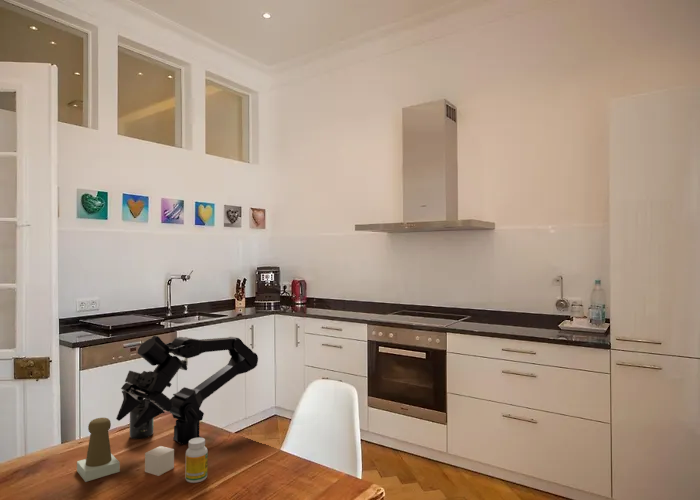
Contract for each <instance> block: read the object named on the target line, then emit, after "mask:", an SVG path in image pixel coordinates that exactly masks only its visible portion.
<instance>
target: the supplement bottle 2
mask: <svg viewBox="0 0 700 500" xmlns="http://www.w3.org/2000/svg"><path fill="white" fill-rule="evenodd" d="M205 445H206V438H204V437H202V438H193V439H191V440H189V443H188V446H187V447H188V448H187V449H186V450H185V468H184V470H185V474H184V477H185V481H186V482H187V483H191V484H196V483H200V482H203V481H205V480H206V479H207V477H208V465H209V464H208V462H209V461H208V460H209V459H208V457H209V456H208V455H209V454H208V453H209V451H208V448H207V447H206V446H205Z"/></svg>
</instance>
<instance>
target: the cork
mask: <svg viewBox="0 0 700 500" xmlns="http://www.w3.org/2000/svg"><path fill="white" fill-rule="evenodd" d="M111 426H112V425H111V420H110V419H109V418H107V417H98V418H94V419H92V420H90V422H89V423H88V426H87V427H88V429H87V430H88V432H89V434H90V435H89V439H88V447H87V452H86V458H85V459H86V465H87V466H91V467H95V466H101V465H105V464H107V463H109V462H110V461H111V460H112V458H111V454H112V451H111V445H110V444H111V443H110V436H109V435H110V434H109V430H110V429H111Z"/></svg>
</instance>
